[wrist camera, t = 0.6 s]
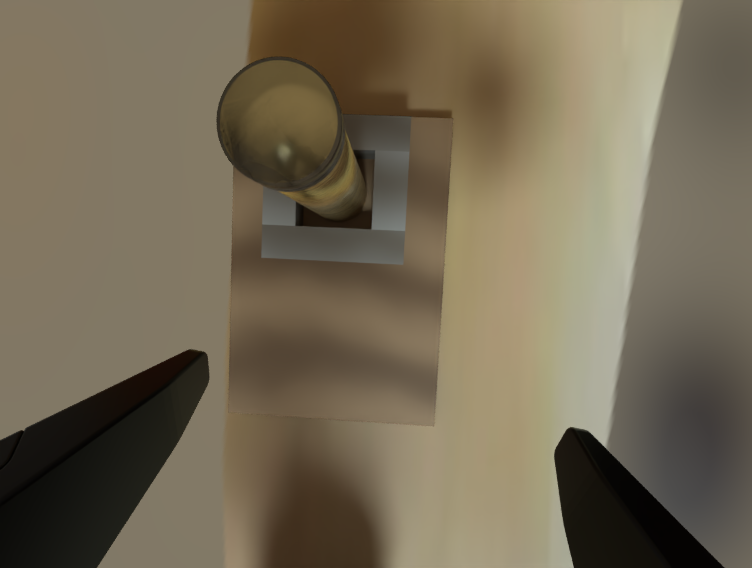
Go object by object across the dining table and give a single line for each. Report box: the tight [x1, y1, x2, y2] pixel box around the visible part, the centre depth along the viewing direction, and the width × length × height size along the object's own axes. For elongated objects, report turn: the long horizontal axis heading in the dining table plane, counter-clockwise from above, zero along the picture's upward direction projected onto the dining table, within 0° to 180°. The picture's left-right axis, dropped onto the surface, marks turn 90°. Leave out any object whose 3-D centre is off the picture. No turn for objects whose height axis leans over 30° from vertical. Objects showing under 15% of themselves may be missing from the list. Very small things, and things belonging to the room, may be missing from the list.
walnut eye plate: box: [228, 114, 453, 426], centre depth 24 cm, size 20×14×3 cm
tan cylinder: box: [217, 57, 367, 222], centre depth 18 cm, size 4×4×13 cm
